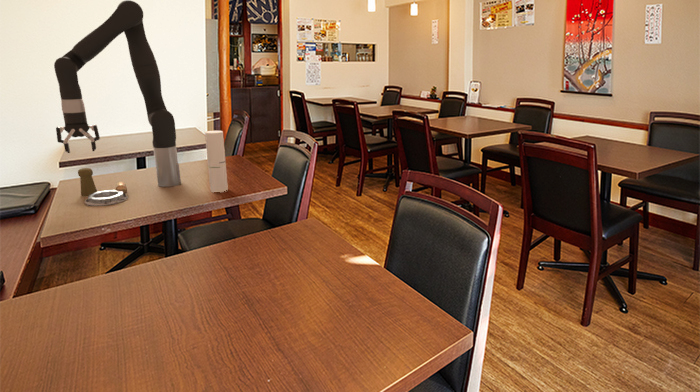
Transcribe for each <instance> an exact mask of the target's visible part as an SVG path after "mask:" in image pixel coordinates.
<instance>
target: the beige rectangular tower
mask: <svg viewBox="0 0 700 392" xmlns="http://www.w3.org/2000/svg"><path fill="white" fill-rule="evenodd" d="M204 138H205V149H206V159H207V167H208V178H209V188H210V192H211V193H214V192H220V193H225V192H227V191H229V187H228V175H227V173H228V172H227V164H226V163H227V162H226V151H225V139H224V131H223V130H207V131H205V132H204ZM226 190H227V191H226ZM224 191H225V192H224Z"/></svg>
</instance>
